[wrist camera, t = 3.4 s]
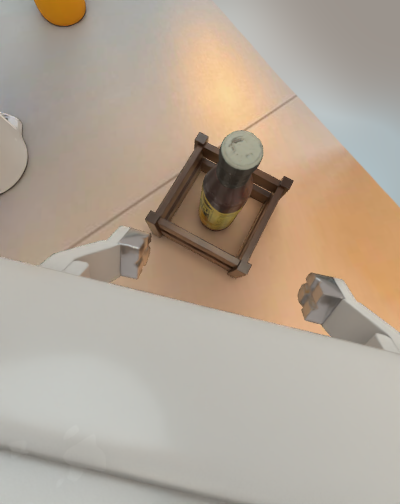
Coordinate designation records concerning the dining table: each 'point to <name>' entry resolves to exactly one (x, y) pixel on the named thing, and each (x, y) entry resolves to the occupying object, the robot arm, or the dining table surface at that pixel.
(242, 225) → the dining table surface
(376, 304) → the dining table surface
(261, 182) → the crate
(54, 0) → the beer bottle
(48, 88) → the dining table surface
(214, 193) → the sauce bottle
